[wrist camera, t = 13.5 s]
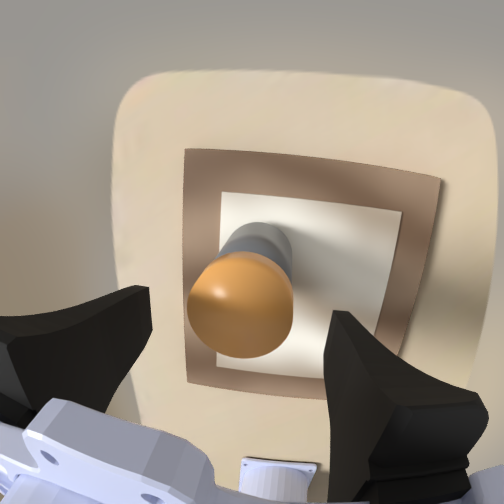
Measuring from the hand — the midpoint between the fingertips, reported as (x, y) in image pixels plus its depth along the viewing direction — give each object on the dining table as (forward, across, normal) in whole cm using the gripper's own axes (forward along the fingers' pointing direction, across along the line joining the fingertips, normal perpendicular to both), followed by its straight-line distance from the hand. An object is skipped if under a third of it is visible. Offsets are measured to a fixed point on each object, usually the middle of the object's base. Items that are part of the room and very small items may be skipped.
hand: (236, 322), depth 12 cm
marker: (+8, 0, 0) cm, 8 cm away
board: (+10, -3, +3) cm, 10 cm away
